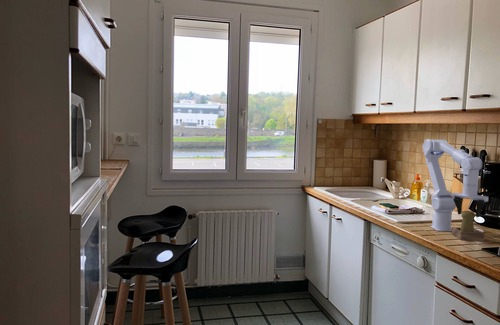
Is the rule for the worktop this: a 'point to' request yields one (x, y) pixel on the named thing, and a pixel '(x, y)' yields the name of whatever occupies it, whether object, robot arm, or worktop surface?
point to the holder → (468, 234)
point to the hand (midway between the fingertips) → (468, 215)
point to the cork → (467, 221)
